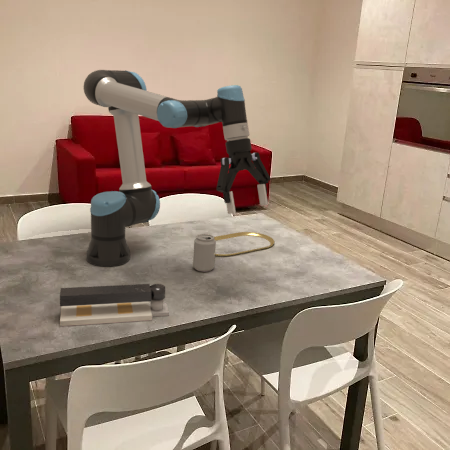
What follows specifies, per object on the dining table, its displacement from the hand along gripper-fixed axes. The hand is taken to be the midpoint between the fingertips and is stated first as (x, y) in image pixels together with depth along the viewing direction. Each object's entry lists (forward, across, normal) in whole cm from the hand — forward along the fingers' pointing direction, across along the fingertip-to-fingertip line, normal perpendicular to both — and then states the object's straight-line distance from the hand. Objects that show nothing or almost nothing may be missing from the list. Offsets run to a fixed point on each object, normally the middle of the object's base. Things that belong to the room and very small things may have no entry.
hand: (248, 209), depth 150 cm
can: (+20, -1, +27) cm, 34 cm away
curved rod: (+19, +25, +39) cm, 50 cm away
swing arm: (+17, -42, +14) cm, 47 cm away
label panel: (+21, -42, +15) cm, 49 cm away
